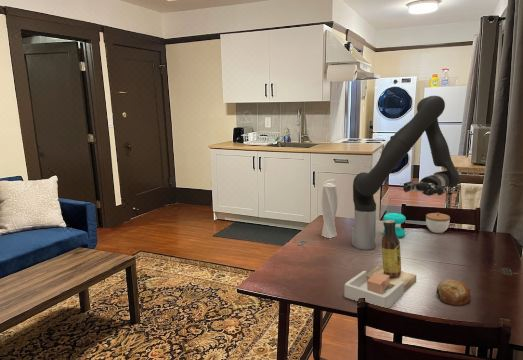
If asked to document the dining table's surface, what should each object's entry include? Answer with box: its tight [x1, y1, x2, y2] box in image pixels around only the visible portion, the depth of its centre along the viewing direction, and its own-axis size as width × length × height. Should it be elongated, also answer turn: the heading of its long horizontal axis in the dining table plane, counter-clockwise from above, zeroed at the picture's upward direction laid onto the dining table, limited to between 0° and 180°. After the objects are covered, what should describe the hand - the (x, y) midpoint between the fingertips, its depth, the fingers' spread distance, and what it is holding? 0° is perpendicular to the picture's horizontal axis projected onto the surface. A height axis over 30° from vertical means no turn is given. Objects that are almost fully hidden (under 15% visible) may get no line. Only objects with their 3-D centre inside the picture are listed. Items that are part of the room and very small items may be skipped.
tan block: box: [372, 273, 389, 289], centre depth 132 cm, size 4×4×3 cm
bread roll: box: [435, 278, 471, 306], centre depth 127 cm, size 10×10×8 cm
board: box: [367, 264, 417, 294], centre depth 139 cm, size 14×12×2 cm
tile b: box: [367, 277, 384, 295], centre depth 130 cm, size 4×4×3 cm
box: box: [343, 270, 404, 309], centre depth 130 cm, size 15×14×4 cm
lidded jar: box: [425, 212, 451, 234], centre depth 190 cm, size 11×11×9 cm
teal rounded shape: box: [382, 212, 407, 239], centre depth 186 cm, size 10×10×10 cm
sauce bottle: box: [381, 220, 402, 277], centre depth 137 cm, size 7×6×20 cm
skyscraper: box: [321, 178, 338, 238], centre depth 185 cm, size 8×8×28 cm
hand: (416, 191), depth 143 cm, fingers open, 8 cm apart
